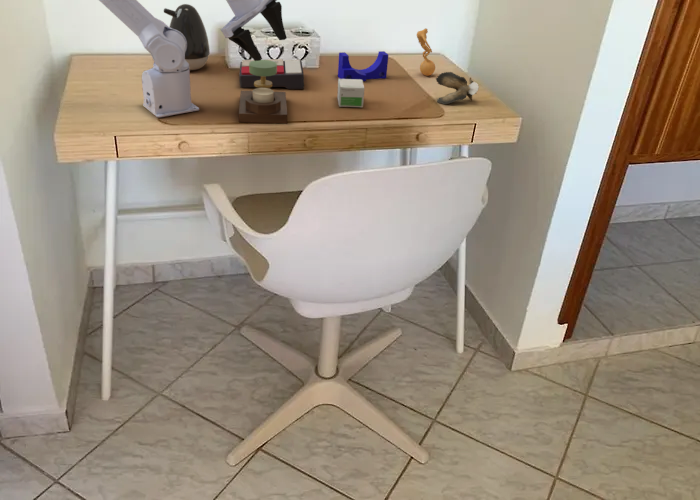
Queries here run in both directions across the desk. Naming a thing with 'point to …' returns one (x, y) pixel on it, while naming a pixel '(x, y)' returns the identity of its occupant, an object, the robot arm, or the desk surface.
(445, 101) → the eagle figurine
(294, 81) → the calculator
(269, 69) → the lamp
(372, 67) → the blue u-shaped cradle
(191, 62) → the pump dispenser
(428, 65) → the figurine
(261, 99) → the lamp switch
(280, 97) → the lamp base
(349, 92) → the small box
